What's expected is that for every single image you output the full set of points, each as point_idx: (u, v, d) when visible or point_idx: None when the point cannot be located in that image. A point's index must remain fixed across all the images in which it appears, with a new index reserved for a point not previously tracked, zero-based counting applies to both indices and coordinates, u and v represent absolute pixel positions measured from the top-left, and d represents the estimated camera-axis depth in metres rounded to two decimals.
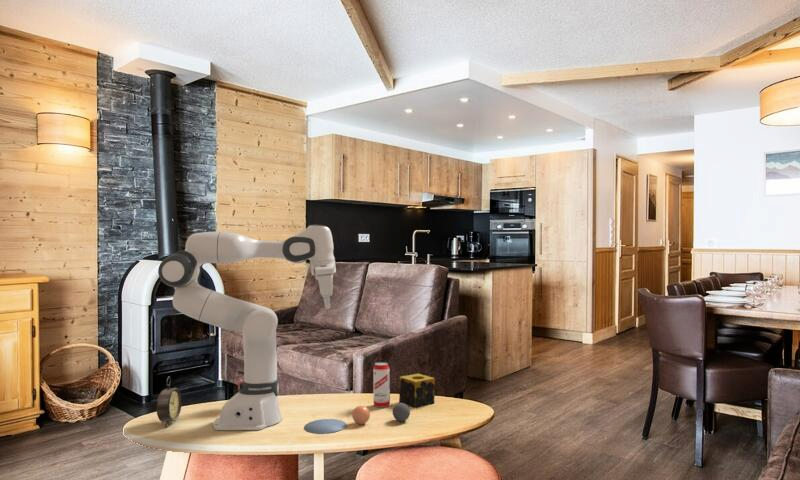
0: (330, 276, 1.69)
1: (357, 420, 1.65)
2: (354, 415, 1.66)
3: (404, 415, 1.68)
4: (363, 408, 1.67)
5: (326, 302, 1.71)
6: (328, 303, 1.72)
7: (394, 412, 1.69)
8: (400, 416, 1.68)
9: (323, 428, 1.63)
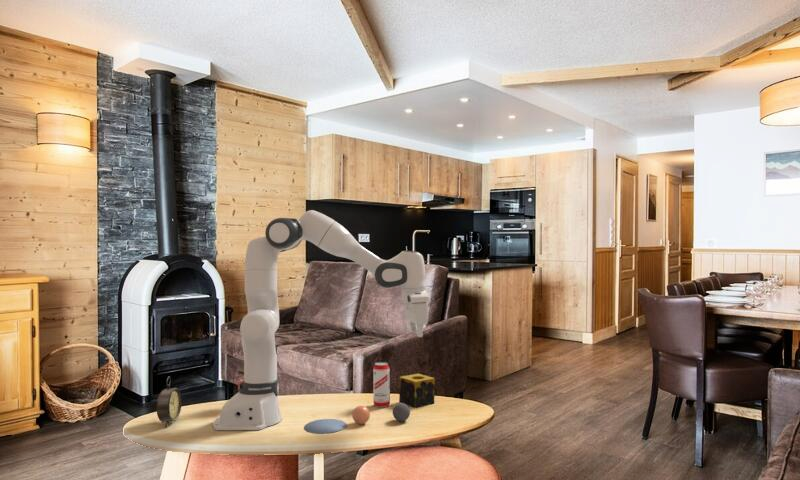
0: (425, 304, 1.67)
1: (357, 420, 1.65)
2: (354, 415, 1.66)
3: (404, 415, 1.68)
4: (363, 408, 1.67)
5: (419, 330, 1.69)
6: (421, 331, 1.69)
7: (394, 412, 1.69)
8: (400, 416, 1.68)
9: (323, 428, 1.63)
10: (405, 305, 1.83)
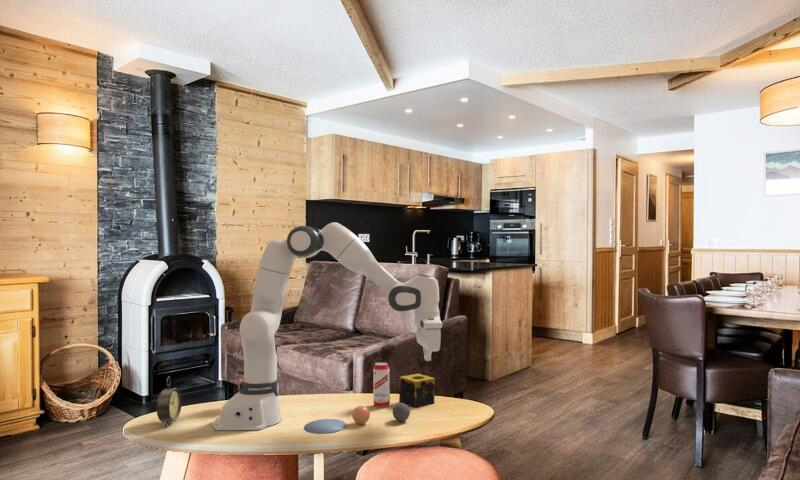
0: (438, 331, 1.65)
1: (357, 420, 1.65)
2: (354, 415, 1.66)
3: (404, 415, 1.68)
4: (363, 408, 1.67)
5: (427, 354, 1.71)
6: (429, 355, 1.72)
7: (394, 412, 1.69)
8: (400, 416, 1.68)
9: (323, 428, 1.63)
10: (417, 329, 1.81)
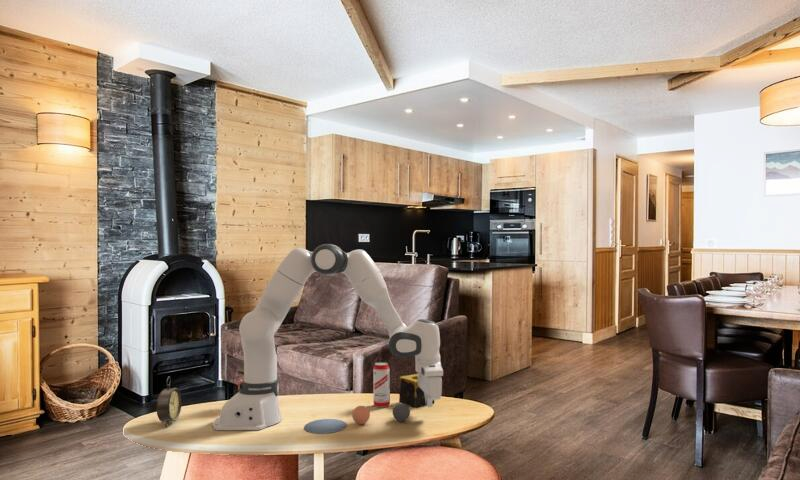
0: (440, 379, 1.64)
1: (357, 420, 1.65)
2: (354, 415, 1.66)
3: (404, 415, 1.68)
4: (363, 408, 1.67)
5: (429, 400, 1.71)
6: (430, 401, 1.71)
7: (394, 412, 1.69)
8: (400, 416, 1.68)
9: (323, 428, 1.63)
10: (418, 372, 1.81)
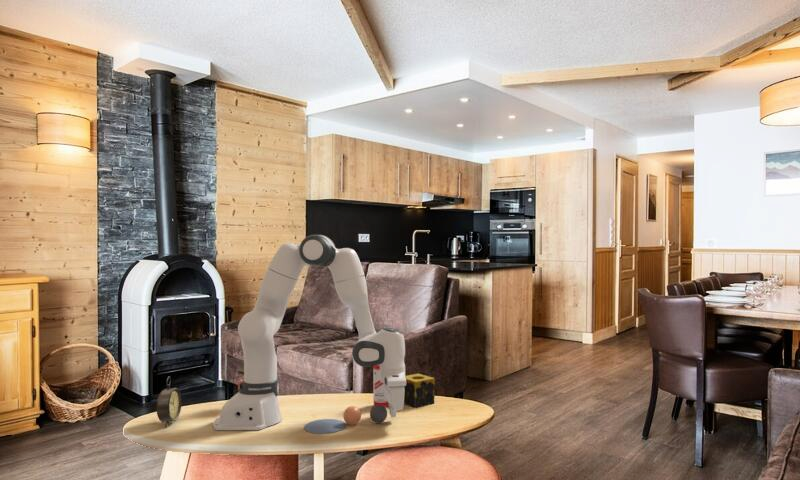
0: (402, 389, 1.62)
1: (353, 423, 1.65)
2: (347, 422, 1.65)
3: (378, 414, 1.66)
4: (347, 411, 1.66)
5: (392, 410, 1.68)
6: (394, 411, 1.68)
7: (384, 420, 1.68)
8: (383, 416, 1.66)
9: (323, 428, 1.63)
10: None
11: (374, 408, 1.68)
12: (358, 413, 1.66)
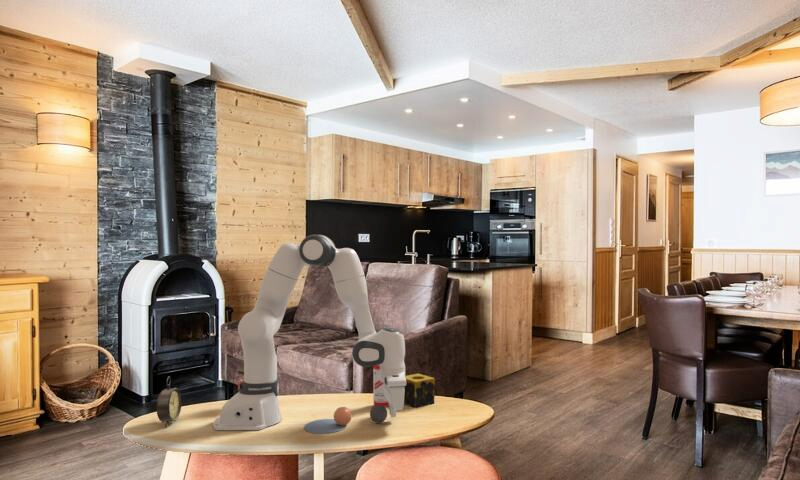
0: (402, 389, 1.62)
1: (348, 420, 1.65)
2: (345, 424, 1.65)
3: (378, 414, 1.66)
4: (335, 419, 1.65)
5: (392, 410, 1.68)
6: (394, 411, 1.68)
7: (384, 420, 1.68)
8: (383, 416, 1.66)
9: (323, 428, 1.63)
10: None
11: (374, 408, 1.68)
12: (342, 411, 1.65)
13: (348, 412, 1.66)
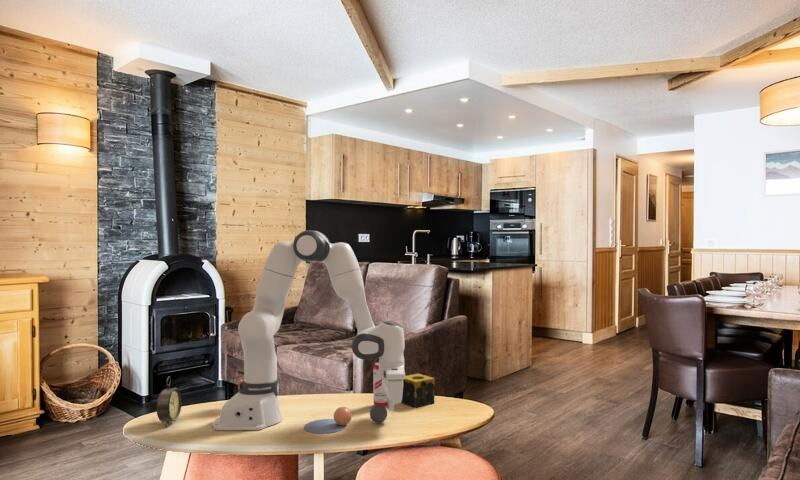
0: (401, 382, 1.62)
1: (348, 420, 1.65)
2: (345, 424, 1.65)
3: (378, 414, 1.66)
4: (335, 419, 1.65)
5: (391, 404, 1.68)
6: (392, 405, 1.68)
7: (384, 420, 1.68)
8: (383, 416, 1.66)
9: (323, 428, 1.63)
10: None
11: (374, 408, 1.68)
12: (342, 411, 1.65)
13: (348, 412, 1.66)
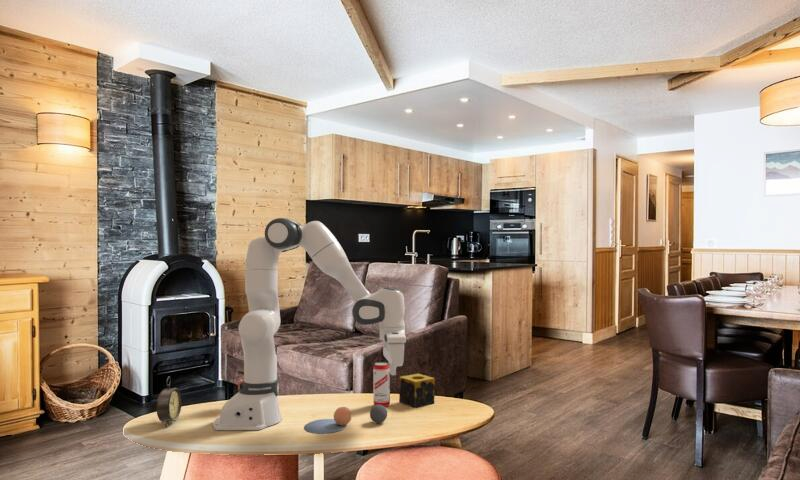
0: (402, 345, 1.63)
1: (348, 420, 1.65)
2: (345, 424, 1.65)
3: (378, 414, 1.66)
4: (335, 419, 1.65)
5: (392, 368, 1.69)
6: (394, 369, 1.69)
7: (384, 420, 1.68)
8: (383, 416, 1.66)
9: (323, 428, 1.63)
10: None
11: (374, 408, 1.68)
12: (342, 411, 1.65)
13: (348, 412, 1.66)
